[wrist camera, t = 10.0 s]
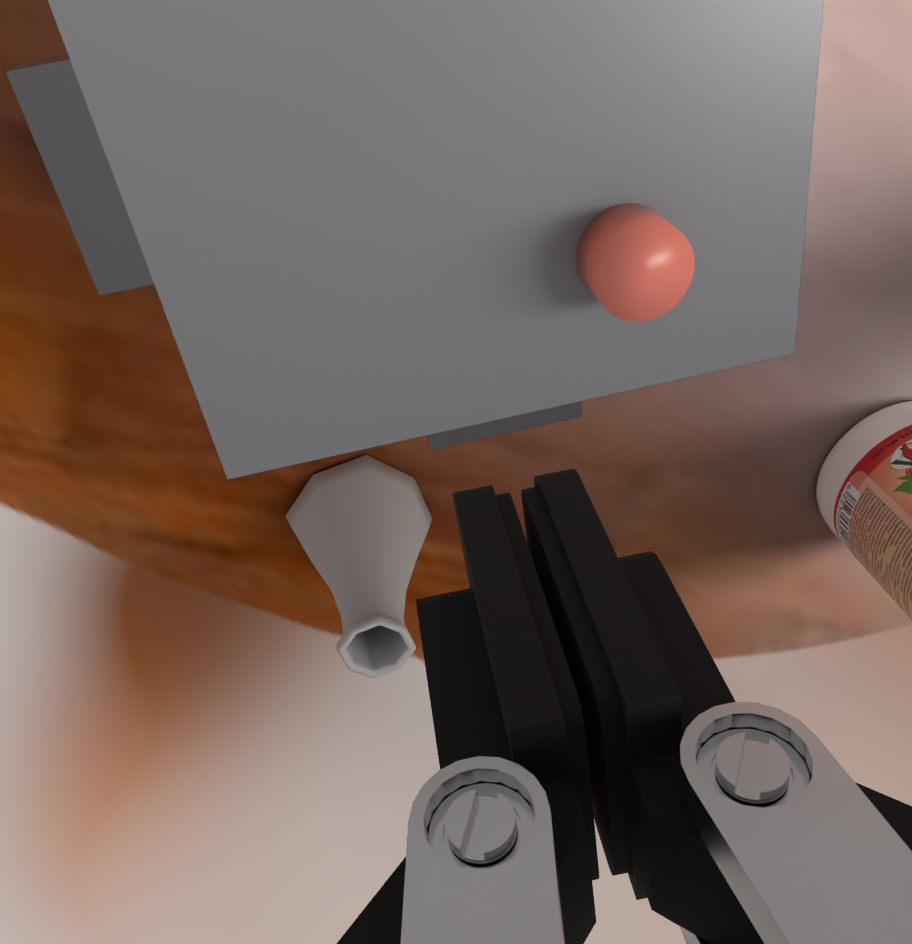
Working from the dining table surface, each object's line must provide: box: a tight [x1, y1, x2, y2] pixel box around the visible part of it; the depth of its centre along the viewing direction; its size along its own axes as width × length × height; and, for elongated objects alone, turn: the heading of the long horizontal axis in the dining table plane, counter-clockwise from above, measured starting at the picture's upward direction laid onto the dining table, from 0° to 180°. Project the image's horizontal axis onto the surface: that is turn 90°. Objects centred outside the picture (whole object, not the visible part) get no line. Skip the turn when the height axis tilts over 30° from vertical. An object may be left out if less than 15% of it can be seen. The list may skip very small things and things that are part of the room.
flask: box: [285, 455, 432, 678], centre depth 40 cm, size 7×7×10 cm
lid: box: [6, 0, 824, 479], centre depth 23 cm, size 22×20×4 cm
